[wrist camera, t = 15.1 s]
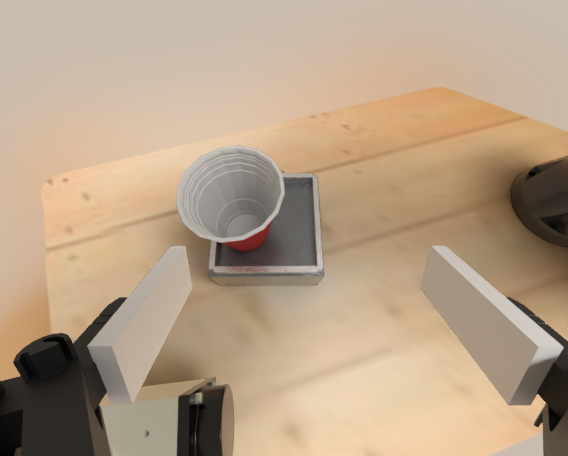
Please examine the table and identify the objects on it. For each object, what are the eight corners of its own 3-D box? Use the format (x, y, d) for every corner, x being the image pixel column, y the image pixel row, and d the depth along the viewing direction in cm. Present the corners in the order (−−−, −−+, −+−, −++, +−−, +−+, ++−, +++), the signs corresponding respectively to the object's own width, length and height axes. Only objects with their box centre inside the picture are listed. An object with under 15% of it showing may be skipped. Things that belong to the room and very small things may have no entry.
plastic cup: (213, 194, 39) (186, 138, 28) (286, 200, 39) (289, 146, 28) (197, 266, 35) (159, 235, 24) (279, 274, 35) (279, 246, 24)
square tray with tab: (311, 186, 48) (318, 157, 40) (317, 285, 41) (325, 273, 34) (227, 186, 48) (217, 157, 40) (219, 285, 41) (205, 274, 33)
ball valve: (100, 462, 33) (-79, 591, 17) (109, 384, 36) (-35, 427, 20) (246, 442, 34) (213, 545, 18) (242, 367, 37) (211, 395, 21)
